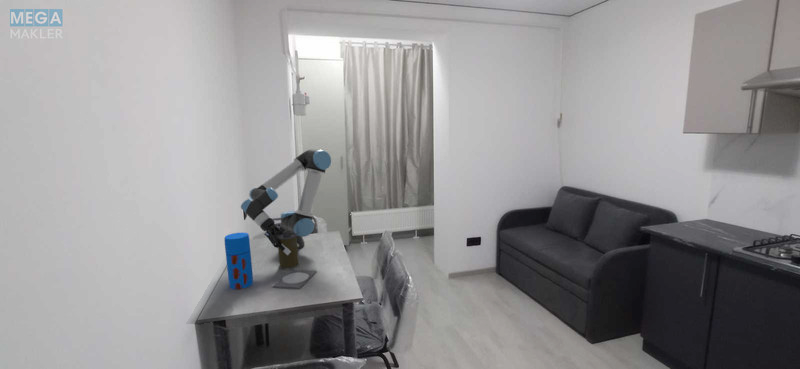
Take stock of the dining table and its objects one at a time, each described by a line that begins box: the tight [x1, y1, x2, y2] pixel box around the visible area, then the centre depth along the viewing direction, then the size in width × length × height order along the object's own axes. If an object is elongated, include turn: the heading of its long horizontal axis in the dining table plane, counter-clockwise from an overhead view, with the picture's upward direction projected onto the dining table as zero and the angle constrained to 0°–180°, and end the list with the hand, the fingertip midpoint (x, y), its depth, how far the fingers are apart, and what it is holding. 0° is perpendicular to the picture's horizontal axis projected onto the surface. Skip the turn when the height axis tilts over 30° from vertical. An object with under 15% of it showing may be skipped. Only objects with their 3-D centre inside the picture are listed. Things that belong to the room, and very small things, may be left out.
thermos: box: [224, 232, 254, 290], centre depth 171 cm, size 11×11×25 cm
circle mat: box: [272, 268, 317, 290], centre depth 178 cm, size 20×14×1 cm
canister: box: [277, 230, 300, 270], centre depth 195 cm, size 11×10×20 cm
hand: (293, 250), depth 194 cm, fingers open, 9 cm apart
